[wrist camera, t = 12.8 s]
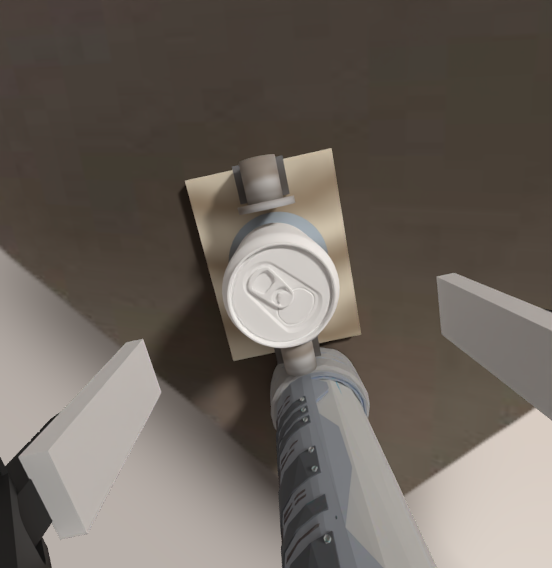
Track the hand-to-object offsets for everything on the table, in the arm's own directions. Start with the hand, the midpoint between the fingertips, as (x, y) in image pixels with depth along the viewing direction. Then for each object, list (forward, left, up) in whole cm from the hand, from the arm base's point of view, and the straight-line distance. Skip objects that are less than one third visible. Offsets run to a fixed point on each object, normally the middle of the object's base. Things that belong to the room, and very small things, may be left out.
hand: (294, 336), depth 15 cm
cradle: (0, 0, -20) cm, 20 cm away
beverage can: (0, 0, -19) cm, 19 cm away
